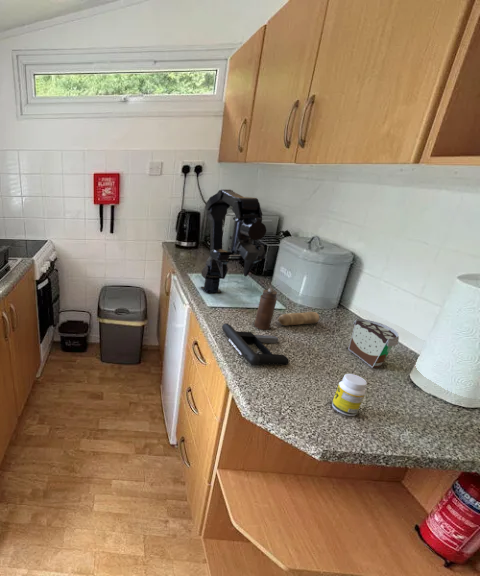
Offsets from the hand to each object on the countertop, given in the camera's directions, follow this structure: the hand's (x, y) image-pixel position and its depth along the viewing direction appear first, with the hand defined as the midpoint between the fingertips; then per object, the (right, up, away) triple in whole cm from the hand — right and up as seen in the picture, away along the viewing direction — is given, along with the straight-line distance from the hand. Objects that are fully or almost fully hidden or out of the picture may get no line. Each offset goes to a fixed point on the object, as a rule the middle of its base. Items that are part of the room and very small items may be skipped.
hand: (234, 276), depth 116 cm
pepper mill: (+6, -17, -8) cm, 20 cm away
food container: (+29, -25, -25) cm, 45 cm away
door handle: (-2, -23, -20) cm, 30 cm away
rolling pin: (+20, -17, -5) cm, 27 cm away
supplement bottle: (+6, -32, -44) cm, 55 cm away
